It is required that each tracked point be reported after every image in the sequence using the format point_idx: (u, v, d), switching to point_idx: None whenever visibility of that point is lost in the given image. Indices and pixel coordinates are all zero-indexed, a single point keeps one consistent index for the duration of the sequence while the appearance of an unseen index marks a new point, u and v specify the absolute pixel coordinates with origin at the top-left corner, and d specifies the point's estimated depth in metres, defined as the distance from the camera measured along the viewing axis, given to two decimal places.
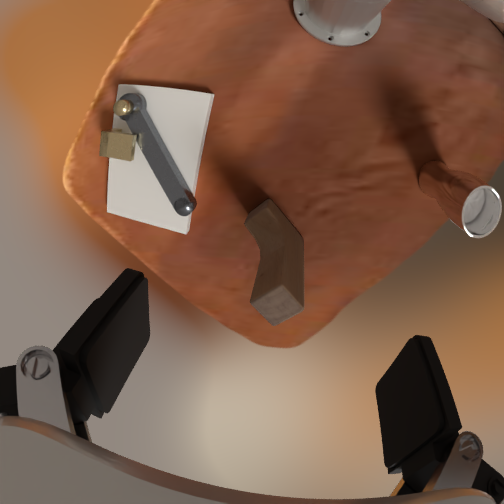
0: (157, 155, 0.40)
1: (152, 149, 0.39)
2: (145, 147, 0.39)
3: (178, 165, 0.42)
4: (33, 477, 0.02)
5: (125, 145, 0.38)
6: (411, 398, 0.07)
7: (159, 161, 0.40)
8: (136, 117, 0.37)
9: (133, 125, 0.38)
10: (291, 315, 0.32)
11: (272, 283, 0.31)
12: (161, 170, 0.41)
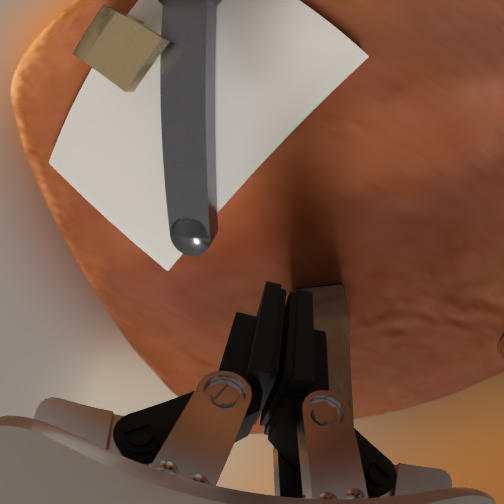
0: (190, 107, 0.16)
1: (186, 89, 0.15)
2: (173, 77, 0.15)
3: (218, 147, 0.19)
4: (33, 477, 0.02)
5: (133, 52, 0.13)
6: None
7: (187, 122, 0.16)
8: (190, 7, 0.13)
9: (173, 21, 0.13)
10: None
11: None
12: (181, 143, 0.17)
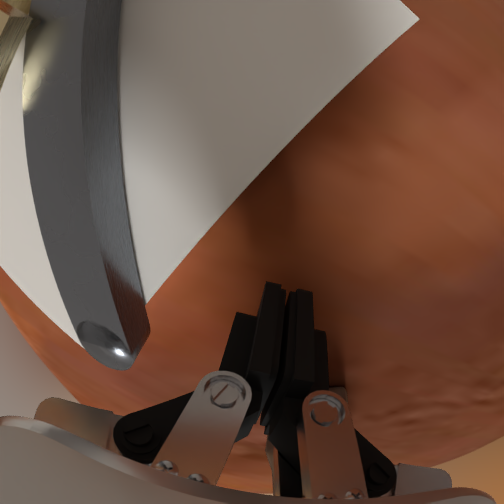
0: (60, 135, 0.07)
1: (53, 100, 0.06)
2: (37, 81, 0.06)
3: (132, 199, 0.10)
4: (33, 477, 0.02)
5: None
6: None
7: (59, 164, 0.07)
8: None
9: None
10: None
11: None
12: (57, 203, 0.08)
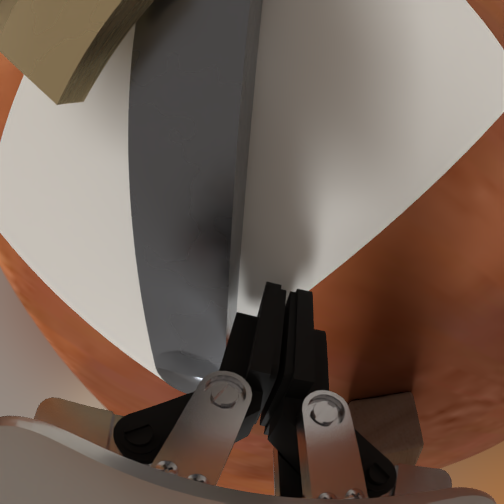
0: (197, 144, 0.07)
1: (190, 96, 0.06)
2: (160, 65, 0.06)
3: (267, 223, 0.10)
4: (33, 477, 0.02)
5: (79, 8, 0.04)
6: None
7: (189, 180, 0.07)
8: None
9: None
10: None
11: None
12: (173, 225, 0.08)
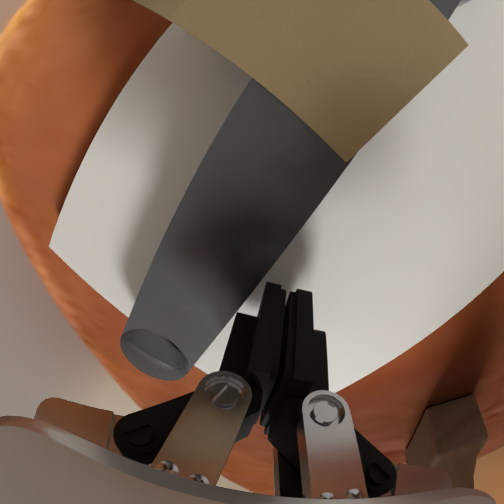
0: (295, 168, 0.07)
1: None
2: None
3: (430, 275, 0.10)
4: (33, 477, 0.02)
5: (384, 42, 0.04)
6: None
7: (267, 195, 0.07)
8: None
9: None
10: None
11: None
12: (225, 227, 0.08)
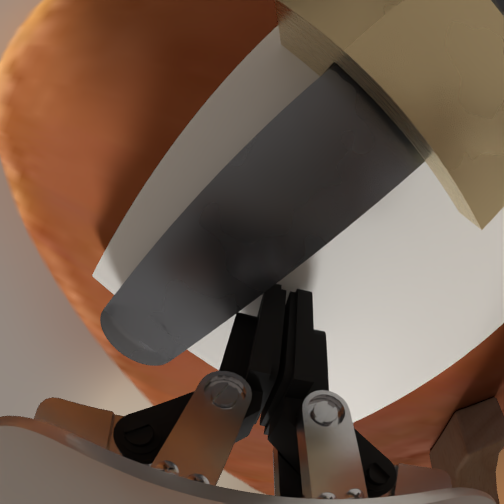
0: (359, 164, 0.06)
1: (390, 122, 0.05)
2: None
3: (482, 298, 0.10)
4: (33, 477, 0.02)
5: None
6: None
7: (323, 184, 0.06)
8: None
9: None
10: None
11: None
12: (267, 208, 0.07)
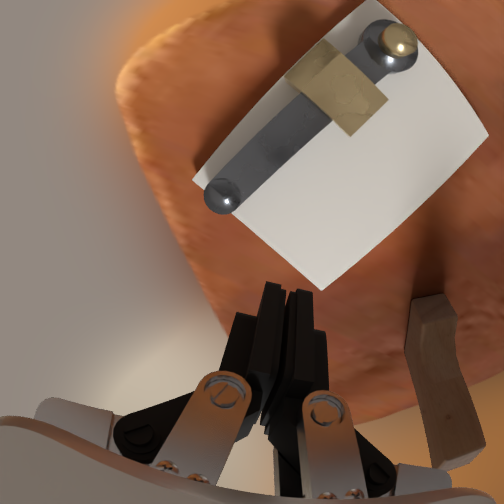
0: (310, 122, 0.19)
1: None
2: None
3: (391, 191, 0.22)
4: (33, 477, 0.02)
5: (361, 102, 0.16)
6: None
7: (298, 128, 0.19)
8: (376, 64, 0.16)
9: (357, 60, 0.16)
10: None
11: (474, 441, 0.15)
12: (281, 136, 0.20)
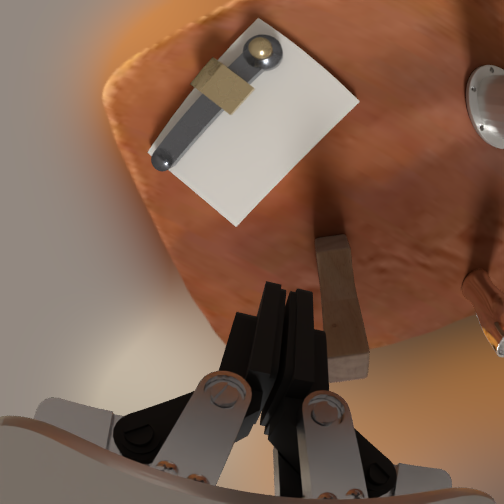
0: (209, 109, 0.30)
1: None
2: None
3: (276, 150, 0.34)
4: (33, 477, 0.02)
5: (235, 93, 0.28)
6: None
7: (203, 114, 0.31)
8: (250, 66, 0.28)
9: (238, 66, 0.28)
10: (353, 379, 0.27)
11: (356, 346, 0.26)
12: (193, 120, 0.31)
